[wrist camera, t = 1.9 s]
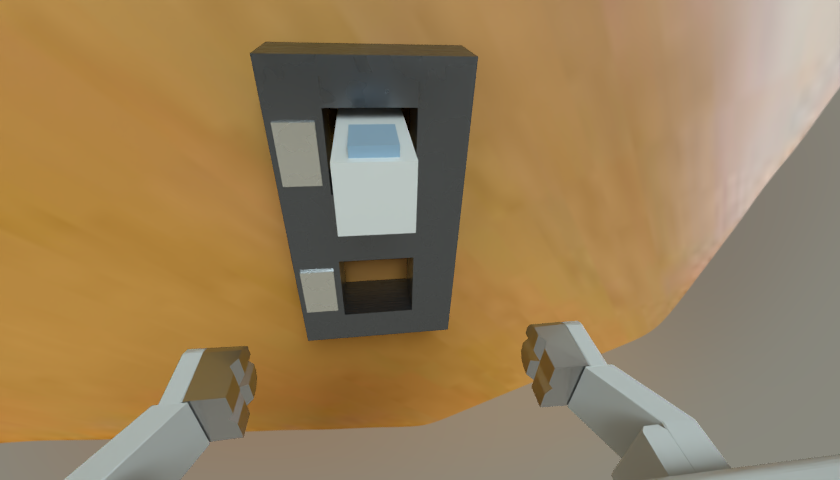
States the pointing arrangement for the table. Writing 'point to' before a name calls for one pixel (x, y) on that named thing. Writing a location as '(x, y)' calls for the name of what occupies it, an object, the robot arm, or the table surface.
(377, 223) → the plug
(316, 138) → the panel
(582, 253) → the table surface
